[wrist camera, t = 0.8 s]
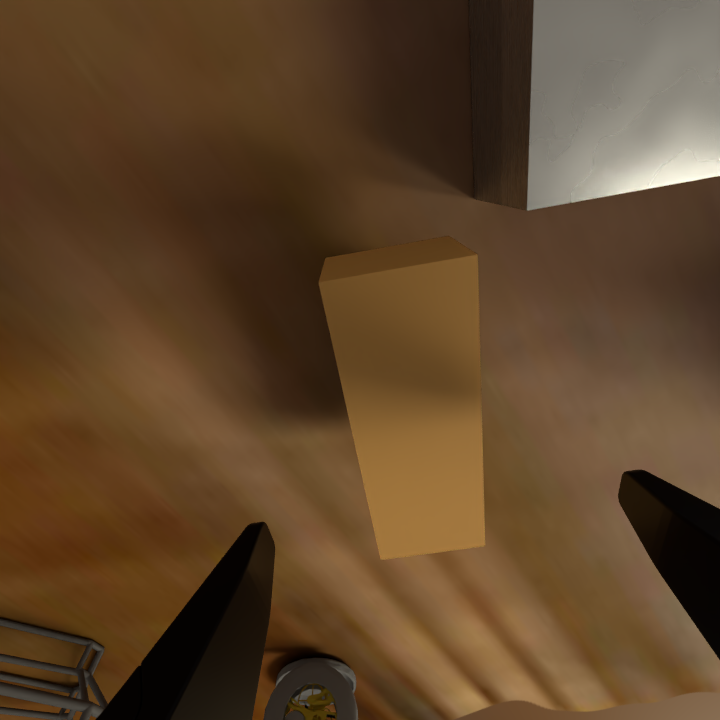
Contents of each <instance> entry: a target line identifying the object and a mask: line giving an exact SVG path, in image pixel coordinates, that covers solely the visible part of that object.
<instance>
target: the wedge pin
mask: <svg viewBox="0 0 720 720" xmlns="http://www.w3.org/2000/svg"><path fill="white" fill-rule="evenodd" d="M318 283H319V287H320V292H321V296H322V300H323V305H324V309H325V314H326V318H327V323H328V327H329V332H330V336H331V341H332V345H333V349H334V354H335V358H336V363H337V367H338V372H339V376H340V381H341V385H342V390H343V394H344V398H345V403H346V407H347V412H348V416H349V421H350V425H351V430H352V434H353V439H354V443H355V447H356V452H357V456H358V461H359V465H360V470H361V474H362V479H363V483H364V488H365V492H366V496H367V501H368V505H369V510H370V514H371V519H372V523H373V528H374V532H375V536H376V541H377V545H378V550H379V554H380V559H381V560H384V559H392V558H399V557H407V556H414V555H422V554H429V553H437V552H444V551H452V550H460V549H467V548H475V547H482V546H485V524H484V483H483V443H482V403H481V363H480V323H479V282H478V254H476V253H475V252H473V251H472V250H470V249H469V248H467V247H465V246H464V245H462V244H461V243H459V242H458V241H456V240H455V239H453V238H452V237H450V236H445V237H439V238H433V239H428V240H422V241H417V242H411V243H406V244H400V245H394V246H389V247H383V248H378V249H372V250H366V251H361V252H355V253H350V254H344V255H339V256H333V257H327V258H325V261H324V265H323V268H322V272H321V275H320V279H319V282H318Z"/></svg>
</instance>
